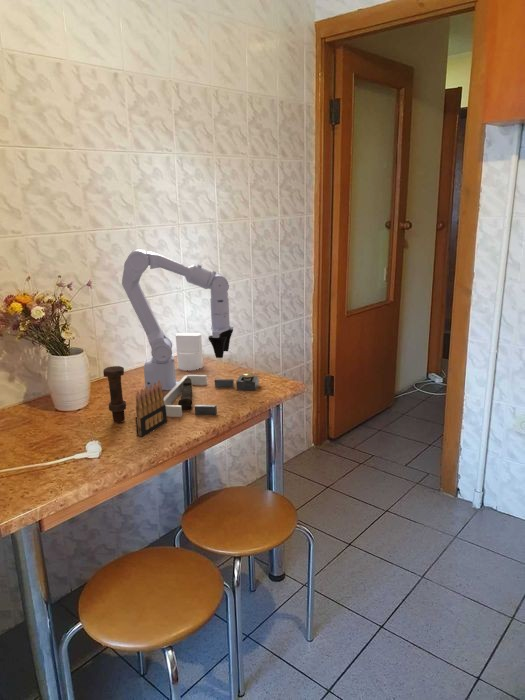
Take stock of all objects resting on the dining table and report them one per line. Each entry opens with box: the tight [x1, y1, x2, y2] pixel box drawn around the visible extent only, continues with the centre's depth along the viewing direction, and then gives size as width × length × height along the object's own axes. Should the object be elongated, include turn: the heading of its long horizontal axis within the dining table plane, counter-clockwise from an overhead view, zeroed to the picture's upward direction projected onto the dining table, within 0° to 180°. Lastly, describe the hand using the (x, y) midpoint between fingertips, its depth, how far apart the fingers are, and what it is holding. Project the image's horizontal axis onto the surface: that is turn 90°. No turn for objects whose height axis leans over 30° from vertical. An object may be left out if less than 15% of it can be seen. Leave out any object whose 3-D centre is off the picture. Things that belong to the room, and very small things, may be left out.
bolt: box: [102, 365, 127, 424], centre depth 144 cm, size 6×5×15 cm
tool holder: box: [194, 374, 260, 416], centre depth 160 cm, size 14×27×3 cm, turn 171°
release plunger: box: [241, 371, 254, 381], centre depth 169 cm, size 4×4×4 cm
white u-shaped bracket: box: [163, 374, 208, 418], centre depth 161 cm, size 7×28×3 cm, turn 171°
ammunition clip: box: [135, 381, 168, 438], centre depth 139 cm, size 11×2×12 cm, turn 154°
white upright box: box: [175, 332, 204, 371], centre depth 192 cm, size 9×9×12 cm
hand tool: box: [177, 378, 193, 412], centre depth 161 cm, size 19×4×5 cm, turn 2°
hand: (222, 354), depth 173 cm, fingers open, 7 cm apart
